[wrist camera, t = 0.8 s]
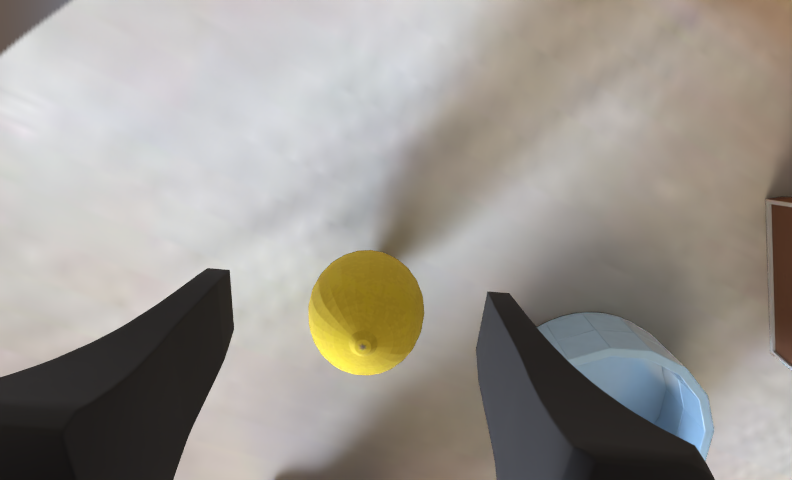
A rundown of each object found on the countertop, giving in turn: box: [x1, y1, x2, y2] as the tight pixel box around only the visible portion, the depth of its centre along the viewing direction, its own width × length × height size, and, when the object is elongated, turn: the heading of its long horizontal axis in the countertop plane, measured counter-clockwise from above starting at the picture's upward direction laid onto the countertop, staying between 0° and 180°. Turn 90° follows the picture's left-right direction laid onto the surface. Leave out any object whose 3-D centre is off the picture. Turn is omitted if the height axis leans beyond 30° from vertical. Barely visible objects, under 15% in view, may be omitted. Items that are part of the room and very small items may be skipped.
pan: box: [537, 312, 714, 461], centre depth 30 cm, size 10×10×4 cm
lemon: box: [309, 250, 424, 375], centre depth 26 cm, size 6×6×8 cm
